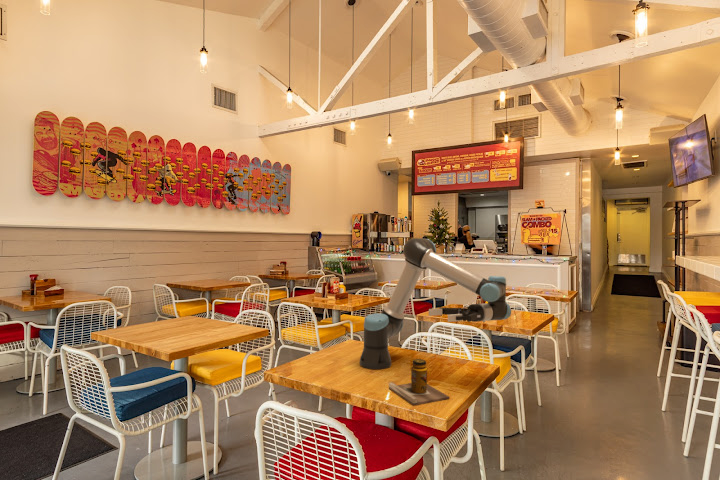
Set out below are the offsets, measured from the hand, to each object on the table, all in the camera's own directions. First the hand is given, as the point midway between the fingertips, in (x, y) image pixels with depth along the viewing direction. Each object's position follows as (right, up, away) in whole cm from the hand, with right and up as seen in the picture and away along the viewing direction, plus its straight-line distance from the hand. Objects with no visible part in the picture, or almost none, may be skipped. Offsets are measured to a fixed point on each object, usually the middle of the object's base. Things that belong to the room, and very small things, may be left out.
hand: (438, 315), depth 164 cm
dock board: (-10, -29, -10) cm, 32 cm away
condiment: (-10, -28, -10) cm, 31 cm away
